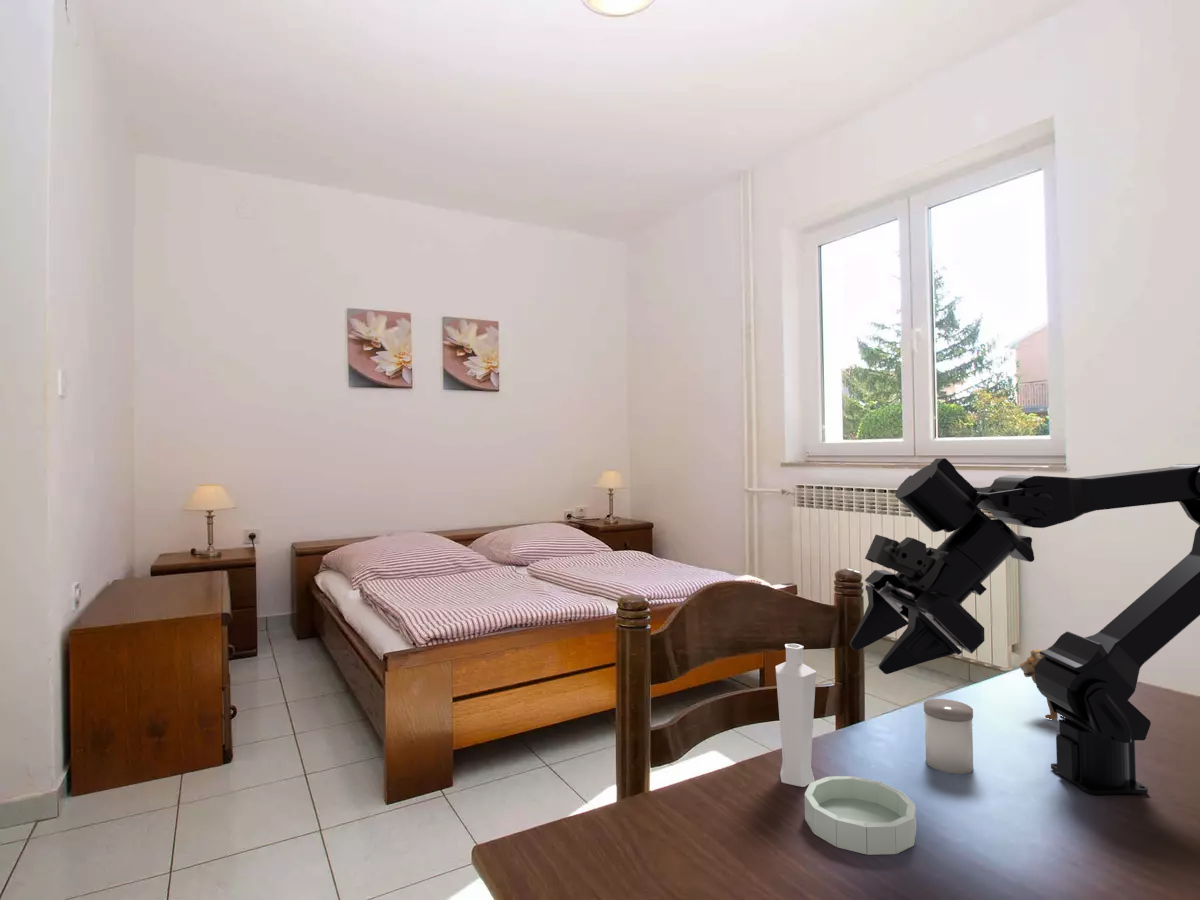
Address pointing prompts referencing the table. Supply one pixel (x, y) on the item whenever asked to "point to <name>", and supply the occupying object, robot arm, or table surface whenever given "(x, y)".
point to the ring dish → (860, 815)
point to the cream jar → (949, 736)
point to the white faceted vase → (796, 716)
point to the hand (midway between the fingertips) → (866, 658)
